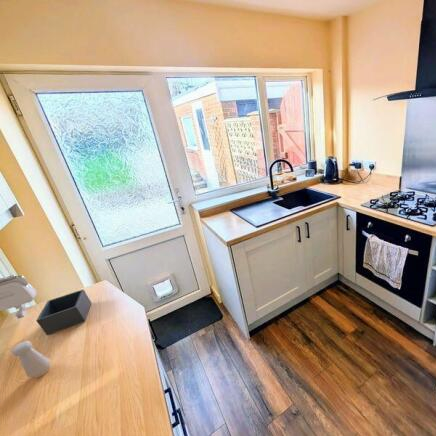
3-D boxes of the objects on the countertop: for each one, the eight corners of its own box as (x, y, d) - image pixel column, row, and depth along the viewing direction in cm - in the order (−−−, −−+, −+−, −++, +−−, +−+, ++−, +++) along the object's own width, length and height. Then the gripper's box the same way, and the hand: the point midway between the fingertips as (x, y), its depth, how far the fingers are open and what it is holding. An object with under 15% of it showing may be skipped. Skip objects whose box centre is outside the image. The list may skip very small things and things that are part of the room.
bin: (46, 335, 97) (36, 320, 93) (57, 314, 107) (47, 300, 104) (85, 321, 101) (76, 307, 98) (91, 302, 112) (83, 289, 108)
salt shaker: (52, 360, 86) (32, 334, 80) (53, 371, 82) (32, 344, 76) (30, 372, 82) (7, 346, 77) (30, 384, 78) (6, 357, 73)
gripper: (25, 267, 73) (49, 302, 79) (-73, 294, 66) (-39, 331, 71) (16, 278, 68) (42, 315, 74) (-93, 309, 60) (-54, 347, 66)
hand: (2, 323), depth 73 cm, fingers open, 8 cm apart
